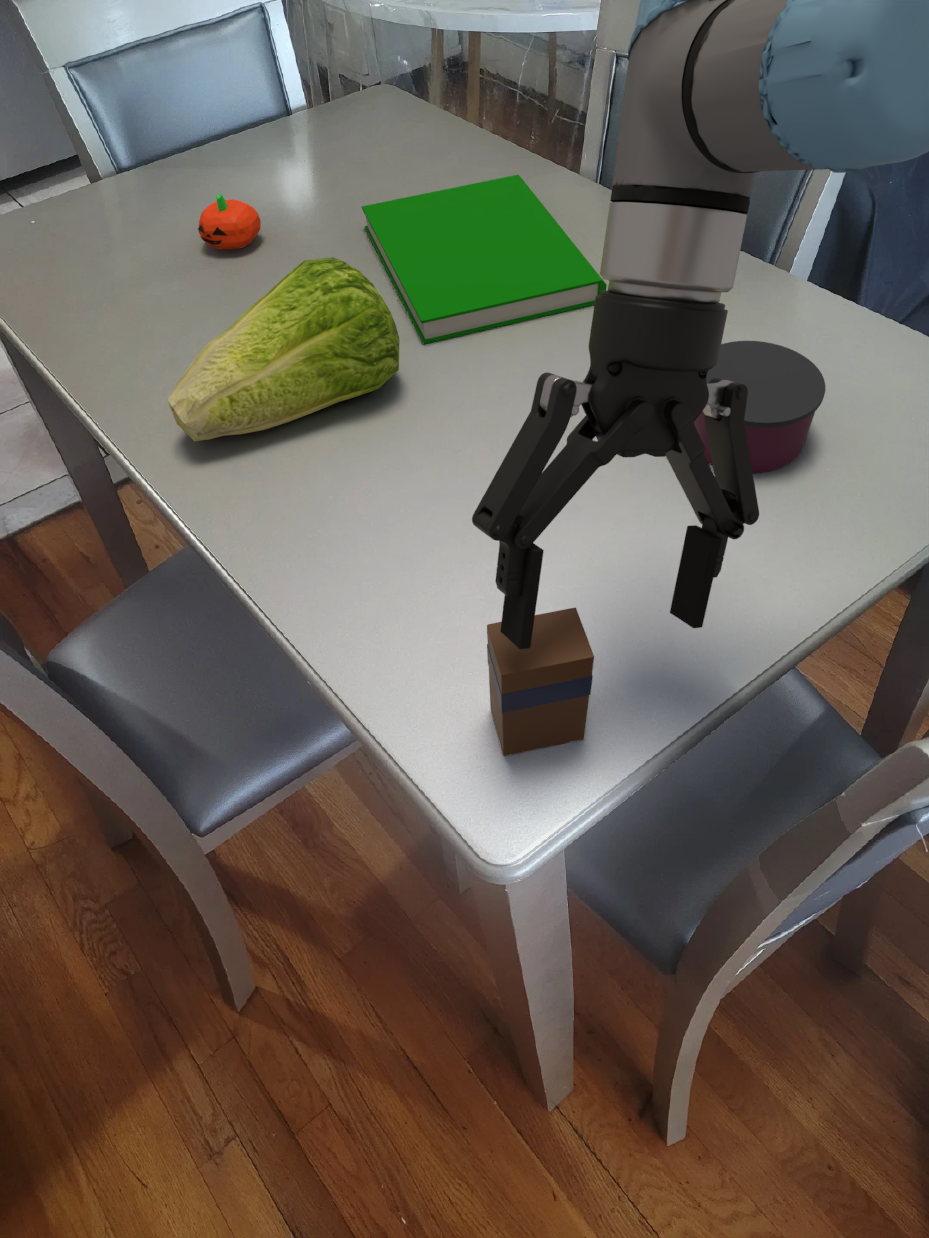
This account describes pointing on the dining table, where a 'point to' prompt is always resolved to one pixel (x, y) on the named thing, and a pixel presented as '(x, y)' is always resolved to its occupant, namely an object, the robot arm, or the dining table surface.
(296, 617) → the dining table surface
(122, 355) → the dining table surface
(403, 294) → the book
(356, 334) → the lettuce
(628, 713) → the dining table surface
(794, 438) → the lidded tub
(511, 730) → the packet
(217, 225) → the pumpkin
